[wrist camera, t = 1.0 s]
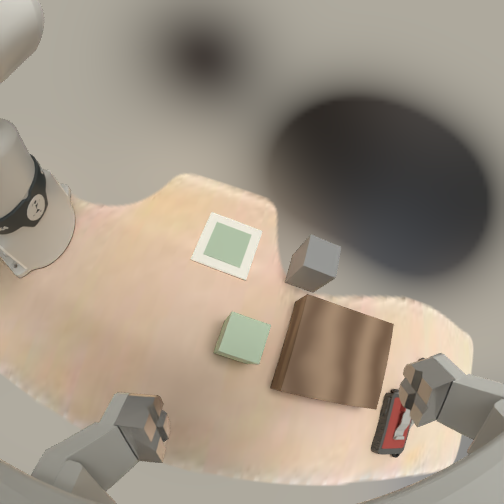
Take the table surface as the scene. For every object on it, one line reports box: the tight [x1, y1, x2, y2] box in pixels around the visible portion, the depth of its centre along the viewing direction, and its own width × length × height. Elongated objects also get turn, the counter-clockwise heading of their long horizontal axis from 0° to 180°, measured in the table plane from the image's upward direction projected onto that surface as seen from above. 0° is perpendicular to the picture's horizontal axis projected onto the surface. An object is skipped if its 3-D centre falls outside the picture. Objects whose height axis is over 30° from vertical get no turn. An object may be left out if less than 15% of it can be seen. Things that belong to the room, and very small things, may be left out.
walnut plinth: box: [271, 294, 394, 409], centre depth 39 cm, size 16×14×5 cm
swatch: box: [191, 212, 262, 281], centre depth 44 cm, size 9×9×1 cm
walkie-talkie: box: [371, 358, 425, 458], centre depth 38 cm, size 9×4×20 cm
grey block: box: [285, 235, 341, 292], centre depth 42 cm, size 5×5×8 cm
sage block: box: [214, 312, 271, 364], centre depth 36 cm, size 5×5×8 cm
